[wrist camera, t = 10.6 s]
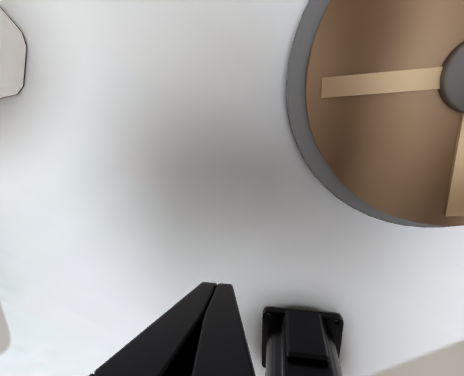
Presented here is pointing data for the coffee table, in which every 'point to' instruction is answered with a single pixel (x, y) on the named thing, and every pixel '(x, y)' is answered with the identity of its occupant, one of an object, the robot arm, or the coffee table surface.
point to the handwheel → (392, 104)
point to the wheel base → (300, 119)
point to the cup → (11, 57)
